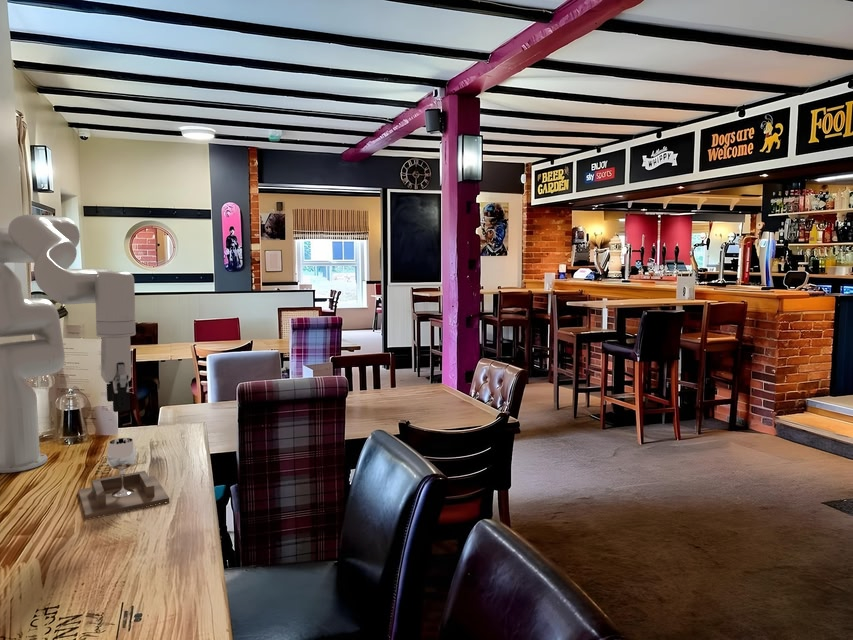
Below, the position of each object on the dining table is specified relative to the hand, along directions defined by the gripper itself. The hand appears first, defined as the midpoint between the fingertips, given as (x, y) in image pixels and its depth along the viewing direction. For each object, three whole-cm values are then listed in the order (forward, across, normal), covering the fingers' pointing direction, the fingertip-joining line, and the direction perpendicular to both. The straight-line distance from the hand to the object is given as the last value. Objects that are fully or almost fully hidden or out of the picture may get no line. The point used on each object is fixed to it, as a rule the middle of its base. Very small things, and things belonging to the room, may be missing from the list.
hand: (118, 405), depth 131 cm
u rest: (+21, +1, 0) cm, 21 cm away
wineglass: (+20, 0, 0) cm, 20 cm away
